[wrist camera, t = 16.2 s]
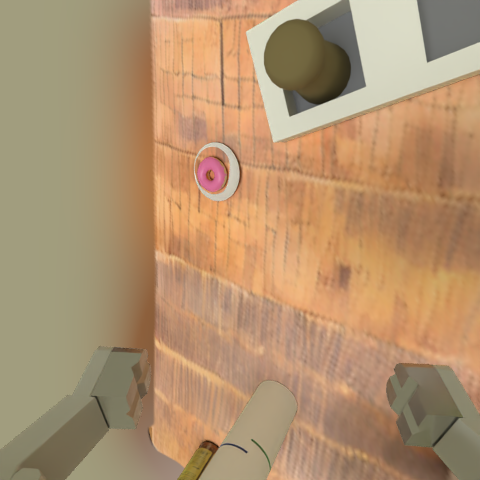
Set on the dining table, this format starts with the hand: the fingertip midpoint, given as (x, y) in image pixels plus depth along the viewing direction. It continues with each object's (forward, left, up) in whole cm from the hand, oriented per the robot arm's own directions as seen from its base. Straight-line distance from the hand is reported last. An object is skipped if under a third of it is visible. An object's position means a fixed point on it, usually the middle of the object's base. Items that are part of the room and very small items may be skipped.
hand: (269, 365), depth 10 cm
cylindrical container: (+21, +29, -30) cm, 47 cm away
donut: (+18, -9, -31) cm, 37 cm away
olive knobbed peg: (+3, -15, -30) cm, 33 cm away
